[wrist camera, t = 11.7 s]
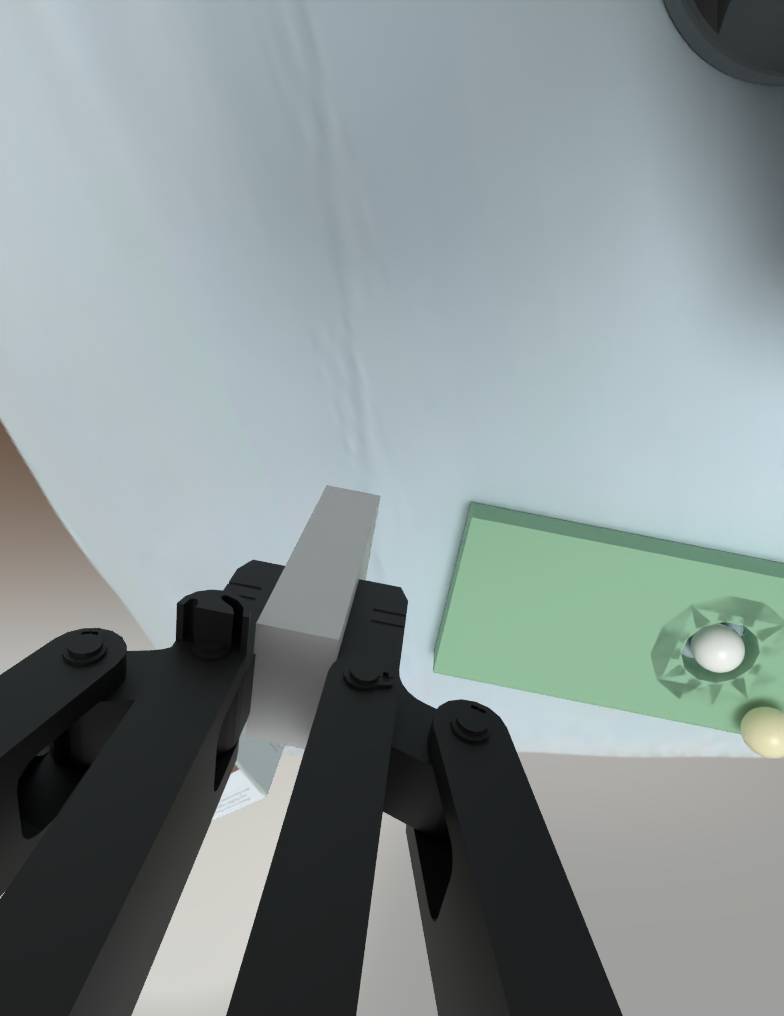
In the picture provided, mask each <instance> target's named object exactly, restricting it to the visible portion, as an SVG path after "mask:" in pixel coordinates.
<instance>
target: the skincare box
mask: <svg viewBox="0 0 784 1016" xmlns="http://www.w3.org/2000/svg"><path fill="white" fill-rule="evenodd" d="M246 726H247V721H246V723H245V726H244V728H243V730H242V733H241V735H240V737H239V749H238V755H237V760H236V762H235V765H234V767H233V770H232V772H231V775H230V777H229V779H228V782H227V784H226V787H225V789H224V792H223V794H222V796H221V799H220V801H219V804H218V806H217V809H216V811H215V813H214V816H213V818H212V821H213V820H215V819H217V818H219V817H222V816H224V815H226V814H228V813H231V812H233V811H235V810H237V809H239V808H242V807H244V806H247V805H249V804H251V803H253V802H256V801H258V800H260V799H262V798H265V797H266V796H267V794H268V791H269V788H270V786H271V783H272V780H273V777H274V774H275V771H276V768H277V765H278V762H279V760H280V757H281V754H282V751H283V749H284V746H285V745H282V744H277V743H272V742H267V741H262V740H257V739H252V738H247V737H245V736H246Z"/></svg>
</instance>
